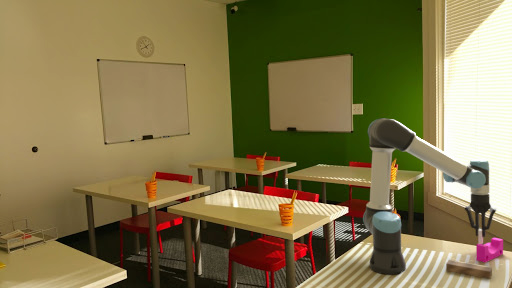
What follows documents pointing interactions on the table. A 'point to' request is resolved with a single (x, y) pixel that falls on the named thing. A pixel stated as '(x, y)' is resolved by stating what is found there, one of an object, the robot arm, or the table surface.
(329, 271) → the table surface
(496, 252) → the toy block
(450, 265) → the walnut plank
